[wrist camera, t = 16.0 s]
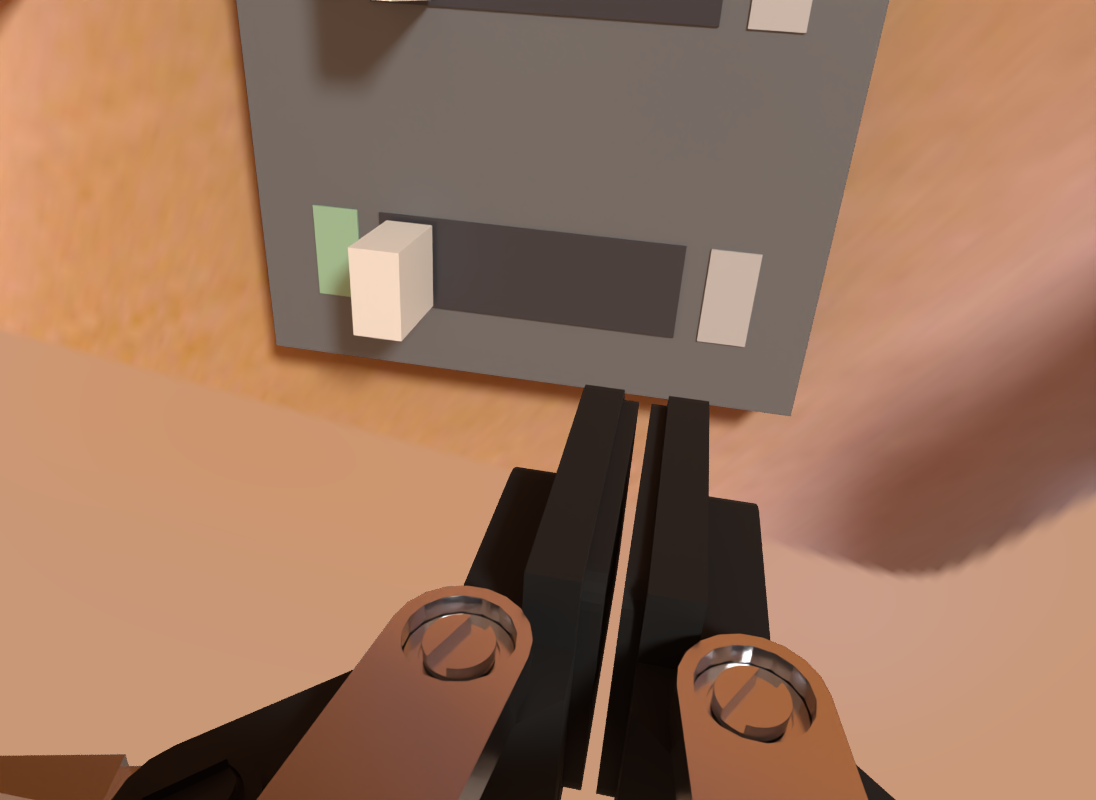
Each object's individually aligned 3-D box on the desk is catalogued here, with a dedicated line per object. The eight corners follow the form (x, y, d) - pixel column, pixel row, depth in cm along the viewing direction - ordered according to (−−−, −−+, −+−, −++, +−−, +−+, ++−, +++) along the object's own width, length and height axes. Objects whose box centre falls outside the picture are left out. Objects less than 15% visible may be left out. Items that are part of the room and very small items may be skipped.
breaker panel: (918, -196, 26) (941, -217, 23) (784, 385, 37) (790, 417, 34) (253, -218, 29) (206, -239, 27) (305, 322, 40) (275, 346, 37)
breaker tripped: (432, 225, 33) (398, 253, 29) (433, 305, 34) (401, 341, 31) (386, 220, 33) (347, 247, 29) (389, 300, 35) (353, 335, 31)
